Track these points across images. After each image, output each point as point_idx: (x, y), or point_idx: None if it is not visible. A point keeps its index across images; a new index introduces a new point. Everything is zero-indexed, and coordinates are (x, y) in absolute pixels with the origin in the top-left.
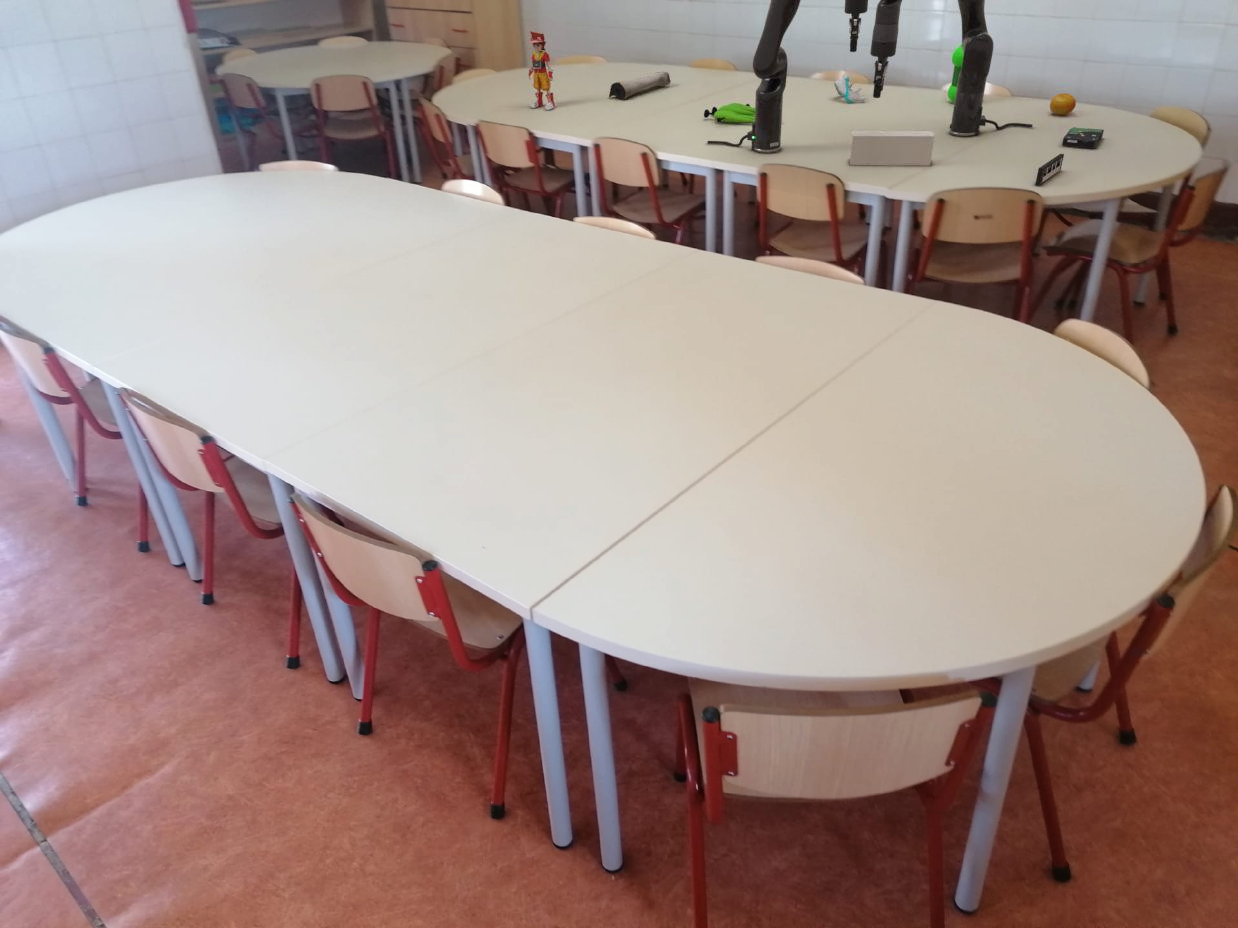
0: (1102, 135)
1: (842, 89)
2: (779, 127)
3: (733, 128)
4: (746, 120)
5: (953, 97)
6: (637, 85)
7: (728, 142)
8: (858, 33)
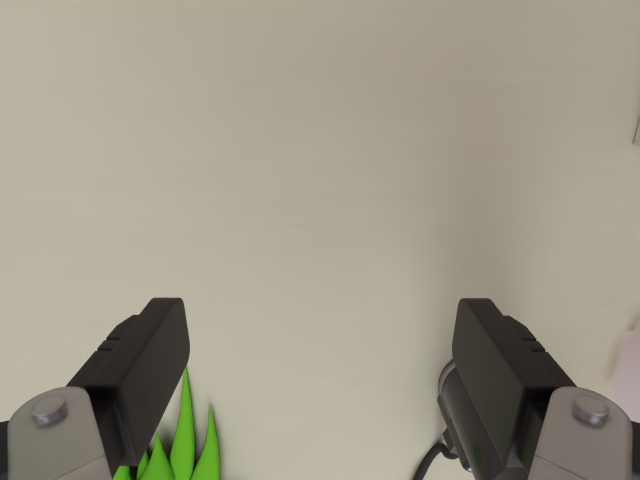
0: None
1: None
2: None
3: (253, 467)
4: (217, 455)
5: None
6: None
7: (425, 472)
8: (541, 466)
